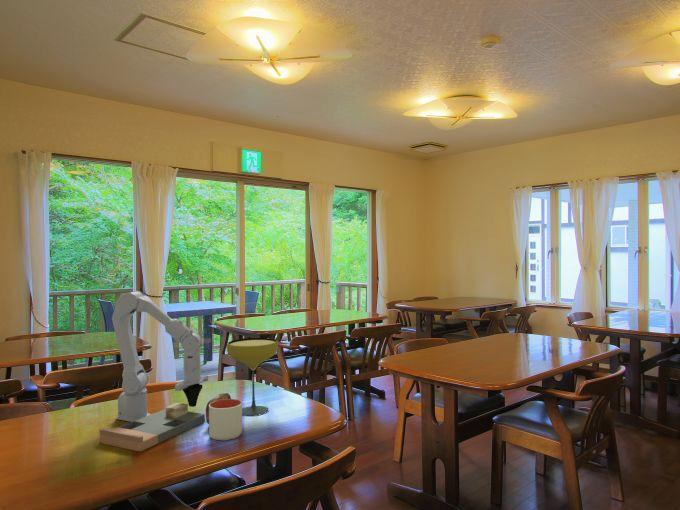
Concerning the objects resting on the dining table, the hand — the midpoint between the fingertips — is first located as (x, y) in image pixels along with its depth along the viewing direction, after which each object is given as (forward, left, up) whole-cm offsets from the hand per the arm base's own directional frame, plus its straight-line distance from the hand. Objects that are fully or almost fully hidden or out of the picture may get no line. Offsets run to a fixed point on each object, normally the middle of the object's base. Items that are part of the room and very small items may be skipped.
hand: (192, 406), depth 166 cm
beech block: (0, -7, -1) cm, 8 cm away
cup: (+24, -11, -3) cm, 26 cm away
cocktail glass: (+18, +12, -3) cm, 21 cm away
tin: (+13, -1, -3) cm, 13 cm away
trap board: (0, -17, -3) cm, 17 cm away
